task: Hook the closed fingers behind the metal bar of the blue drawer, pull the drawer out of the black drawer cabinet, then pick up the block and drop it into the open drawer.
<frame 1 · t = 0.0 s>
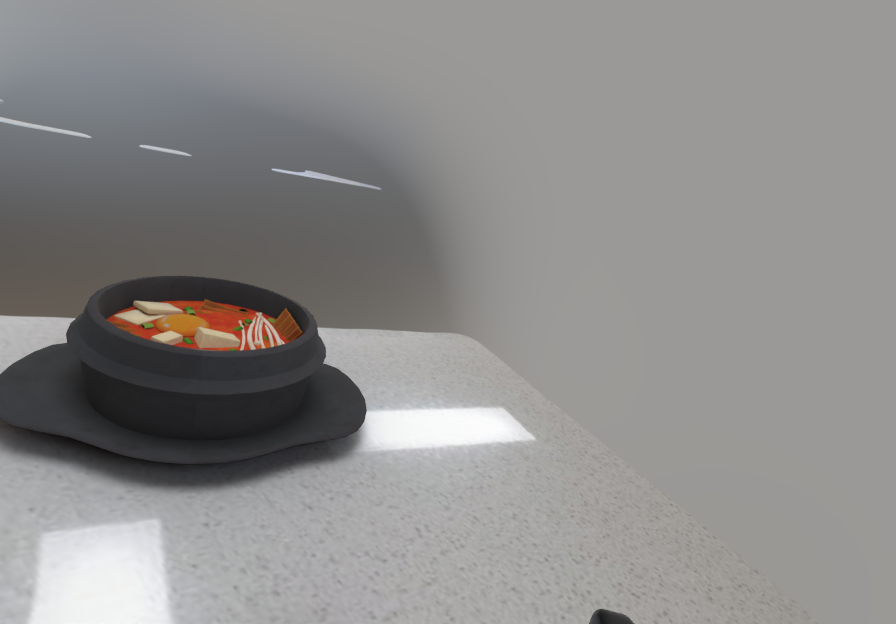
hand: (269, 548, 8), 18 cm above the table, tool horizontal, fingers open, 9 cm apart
casserole: (198, 413, 42), on the table
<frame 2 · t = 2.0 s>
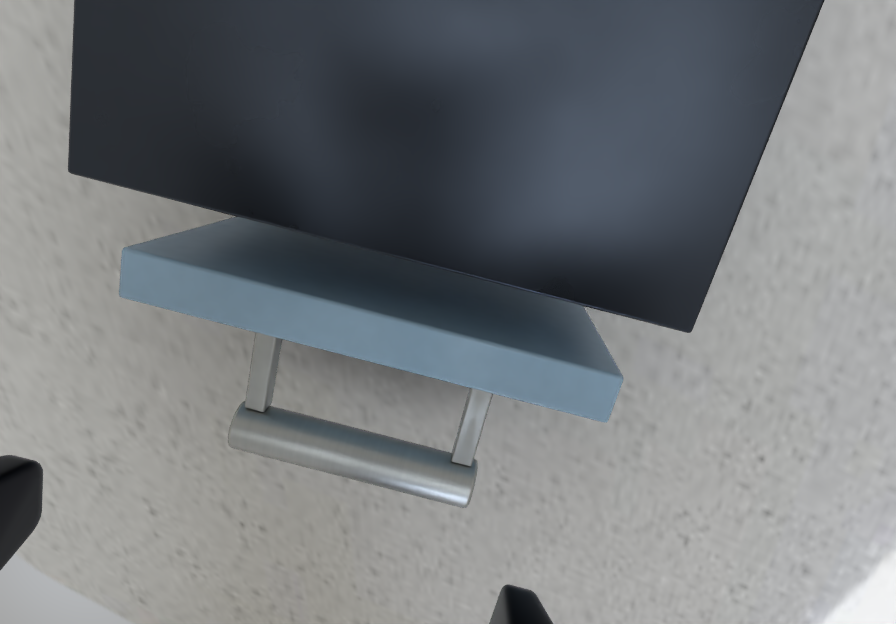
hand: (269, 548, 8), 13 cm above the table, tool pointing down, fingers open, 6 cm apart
blue drawer: (424, 160, 14), point 4 cm above the table, slide at 1.5 cm
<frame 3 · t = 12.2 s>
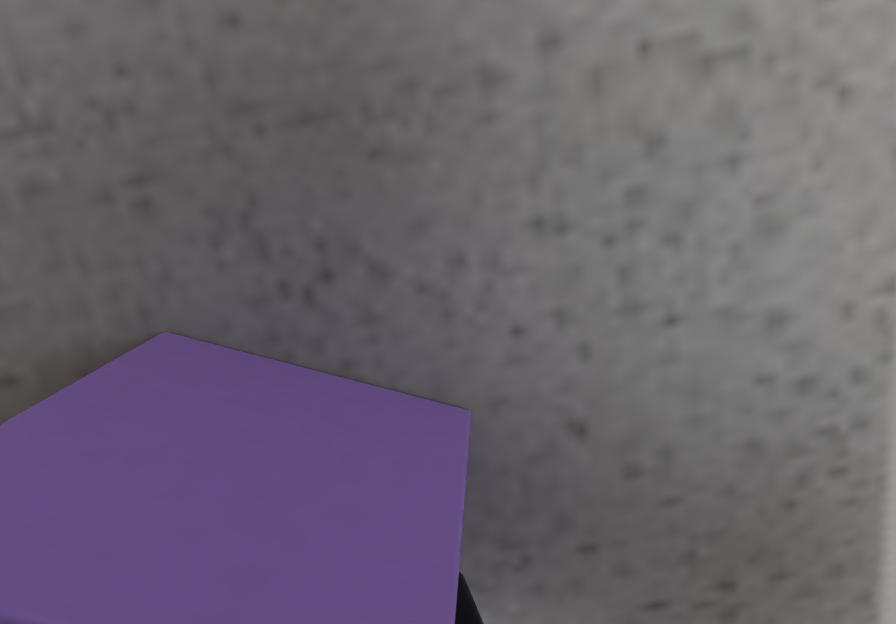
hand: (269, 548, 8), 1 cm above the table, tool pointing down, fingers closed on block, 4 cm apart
block: (293, 500, 9), on the table, touching gripper
when the fingers open (9 cm above the table, at t = 17.2 s): block stays where it is, resting on black drawer cabinet, blue drawer.
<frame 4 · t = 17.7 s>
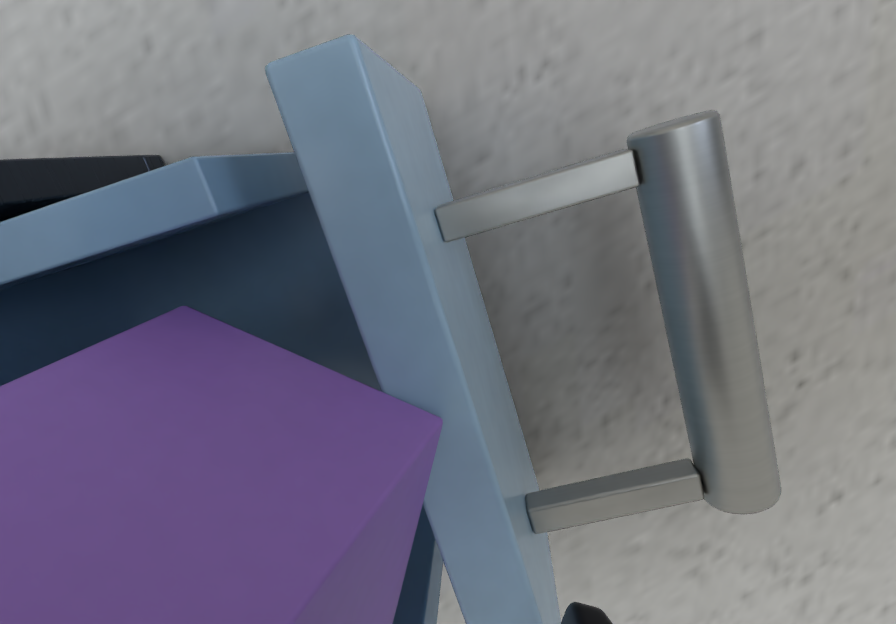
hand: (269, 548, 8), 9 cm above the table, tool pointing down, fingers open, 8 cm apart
blue drawer: (287, 414, 12), point 4 cm above the table, slide at 5.9 cm, touching block
block: (293, 470, 9), point 7 cm above the table, tilted 20°, touching black drawer cabinet, blue drawer
black drawer cabinet: (40, 426, 17), on the table
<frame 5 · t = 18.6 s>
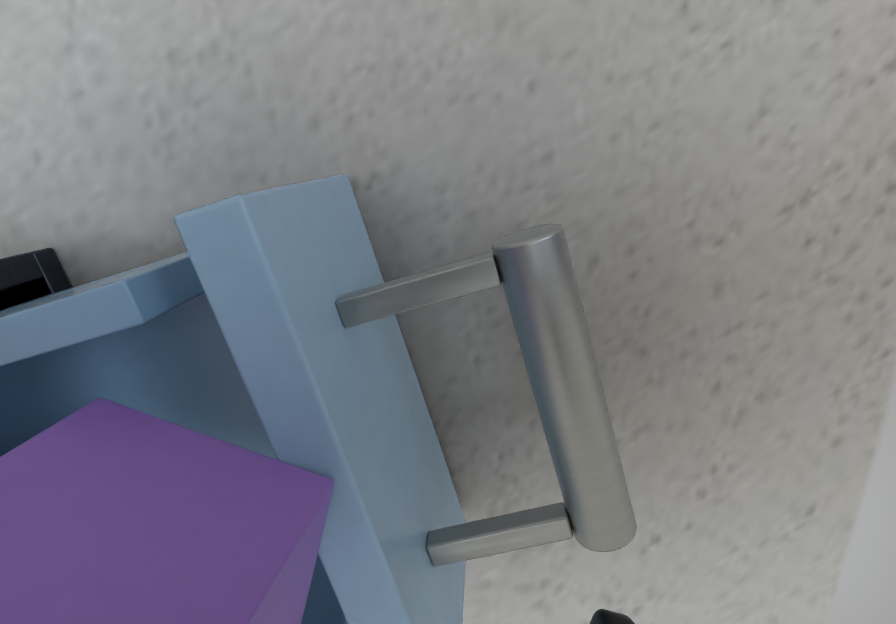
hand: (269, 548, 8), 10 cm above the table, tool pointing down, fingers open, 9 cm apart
blue drawer: (226, 461, 14), point 4 cm above the table, slide at 8.5 cm, touching block
block: (202, 534, 11), point 7 cm above the table, tilted 7°, touching gripper, blue drawer
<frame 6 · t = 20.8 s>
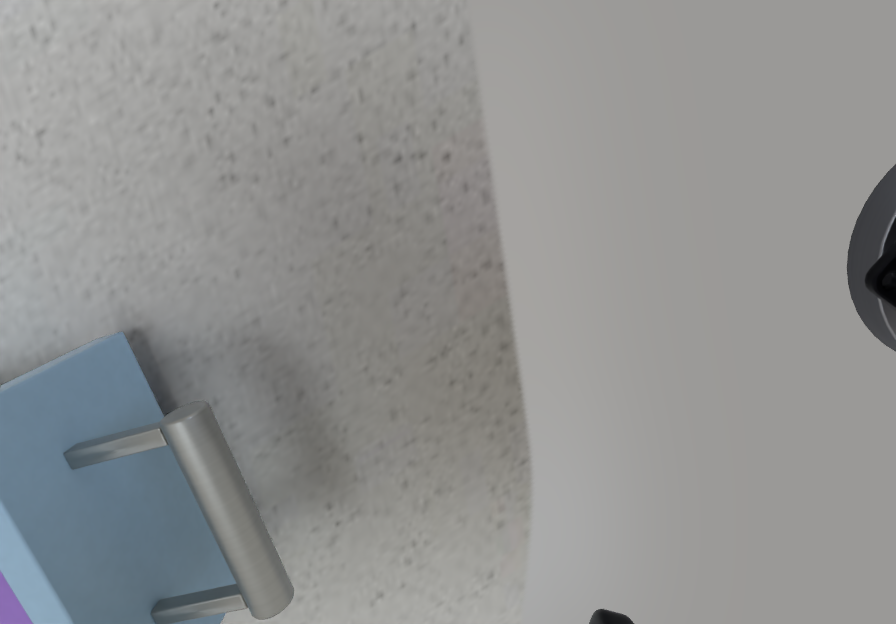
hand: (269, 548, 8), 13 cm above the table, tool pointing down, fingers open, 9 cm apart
blue drawer: (23, 546, 19), point 4 cm above the table, slide at 9.3 cm, touching block
block: (95, 556, 19), point 4 cm above the table, tilted 90°, touching blue drawer
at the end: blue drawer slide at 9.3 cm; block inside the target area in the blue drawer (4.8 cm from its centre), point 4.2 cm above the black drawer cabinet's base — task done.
